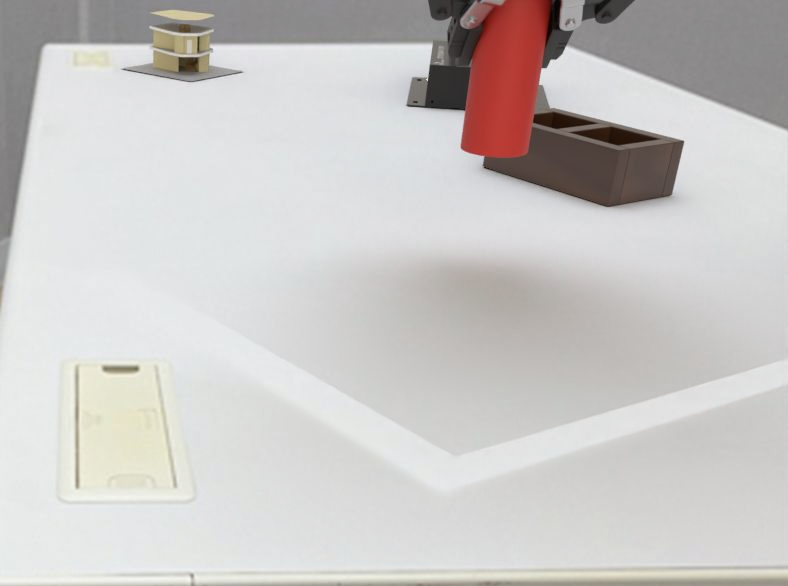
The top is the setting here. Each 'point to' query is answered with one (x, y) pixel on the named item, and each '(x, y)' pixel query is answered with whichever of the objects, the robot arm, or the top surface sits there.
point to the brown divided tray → (594, 159)
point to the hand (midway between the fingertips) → (499, 53)
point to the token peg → (505, 79)
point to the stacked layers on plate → (182, 49)
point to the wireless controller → (449, 83)
